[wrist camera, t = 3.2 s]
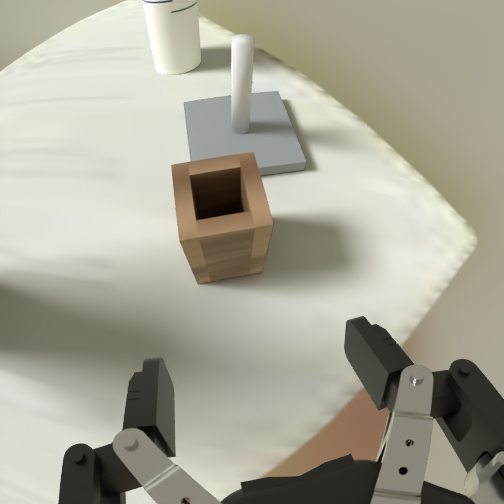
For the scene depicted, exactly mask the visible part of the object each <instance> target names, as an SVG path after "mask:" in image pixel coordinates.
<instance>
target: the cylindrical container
mask: <svg viewBox="0 0 504 504" xmlns="http://www.w3.org/2000/svg"><path fill="white" fill-rule="evenodd" d="M143 4H144V9H145V15H146V21H147V26H148V32H149V37H150V42H151V47H152V52H153V57H154V62H155V67H156V70H157V71H158V72H160V73H162V74H167V75H177V74H182V73H186V72H189V71H191V70H193V69H195V68H196V67H197V66H198V65H199V64H200V63H201V49H200V35H199V21H198V5H197V0H143Z"/></svg>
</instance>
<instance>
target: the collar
mask: <svg viewBox="0 0 504 504" xmlns="http://www.w3.org/2000/svg"><path fill="white" fill-rule="evenodd" d="M171 166H172V177H173V187H174V197H175V206H176V215H177V224H178V232H179V240H180V243H181V245H182V248H183V250H184V253H185V255H186V257H187V260H188V262H189V265H190V267H191V269H192V272H193V274H194V276H195V279H196V281H197V283H198V284H201V283H207V282H212V281H218V280H223V279H229V278H234V277H240V276H245V275H250V274H256V273H261V272H262V270H263V266H264V262H265V258H266V254H267V250H268V246H269V242H270V237H271V233H272V229H273V225H274V224H273V220H272V216H271V213H270V209H269V205H268V201H267V198H266V194H265V190H264V187H263V183H262V179H261V176H260V172H259V169H258V165H257V161H256V158H255V154H254V152H249V153H242V154H235V155H228V156H221V157H215V158H209V159H203V160H197V161H191V162H185V163H180V164H175V165H171Z"/></svg>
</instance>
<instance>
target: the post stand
mask: <svg viewBox="0 0 504 504" xmlns="http://www.w3.org/2000/svg"><path fill="white" fill-rule="evenodd" d="M254 41H255V39H254V38H253V37H252V36H250V35H243V34H242V35H236V36H234V37H232V40H231V96H223V97H215V98H208V99H201V100H195V101H189V102H184V110H185V118H186V127H187V135H188V143H189V151H190V159H191V161H197V160H203V159H209V158H215V157H221V156H228V155H235V154H242V153H249V152H254V154H255V158H256V161H257V165H258V169H259V172H260V176H262V175H269V174H277V173H284V172H292V171H301V170H304V169H305V165H306V159H305V157H304V154H303V151H302V149H301V146H300V144H299V141H298V138H297V136H296V133H295V131H294V128H293V126H292V123H291V121H290V119H289V116H288V114H287V111H286V109H285V106H284V104H283V102H282V99H281V97H280V95H279V92H278V91H273V92H260V93H251V90H252V74H253V58H254Z"/></svg>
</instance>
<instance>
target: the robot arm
mask: <svg viewBox="0 0 504 504" xmlns="http://www.w3.org/2000/svg"><path fill="white" fill-rule="evenodd" d="M344 349H345V354H346V357H347V359H348V361H349V362H350V364H351V366H352V367H353V369H354V371H355V372H356V374H357V375H358V377H359V379H360V380H361V382H362V384H363V385H364V387H365V389H366V390H367V392H368V394H369V395H370V396H371V399H372V400H373V402H374V403H375V405H376V407H377V409H378V410H381V409H383V408H386V407H387V408H388V410H389V411H390V412H389V415H388V419H387V423H386V427H385V431H384V435H383V439H382V442H381V446H380V449H379V452H378V456H377V458H376V461H371V460H353V458H352V455H351V454H349V455H347V456H344V457H341V458H338V459H335V460H331V461H328V462H325V463H324V464H321V465H320V466H318V467H316V468H314V469H312V470H311V471H309V472H307V473H305V474H303V475H301V476H295V477H266V478H261V479H256V480H251V481H245V482H241V487H242V489H240V490H237V491H235V492H233V493H232V494H230V495H229V496H227V497H226V498H224V499H223V500H222V501H221V502H220V501H218V500H217V499H216V498H215V497H214V496H212V495H211V494H210V493H209V492H208V491H206V490H205V489H204V488H203V487H202V486H201V485H199V484H198V483H197V482H196V481H195V480H194V479H193V478H192V477H190V476H189V475H188V474H187V473H186V472H185V471H184V470H183V469H182V468H181V467H179V466H178V465H175V464H174V463H173V462H172V461H171V460H170V459H169V458H168V457H176V454H175V414H174V388H173V384H172V381H171V378H170V376H169V374H168V371H167V369H166V366H165V364H164V361H163V359H162V358H161V357H160V358H153V359H145V360H144V362H143V370H142V372H137V373H134V375H133V376H132V378H131V380H130V381H129V386H128V393H127V401H126V407H125V414H124V423H123V430H122V431H121V432H120V433H118V434H117V435H116V437H115V438H114V440H113V443H111V444H108V445H106V446H102V447H99V448H96V449H92V448H91V447H90V446H88V445H86V444H75V445H73V446H71V447H70V448H69V449H68V450H67V451H66V452H65V455H64V459H63V466H62V474H61V483H60V492H59V504H126V496H125V492H126V491H129V490H133V489H136V488H139V487H142V486H143V487H144V489H145V490H146V492H147V493H148V494H149V495H150V496H151V497H152V498H153V499H154V500H155V502H156V503H157V504H504V399H503V398H502V396H501V395H500V394H499V393H498V391H497V390H496V389H495V388H494V386H493V385H492V384H491V383H490V381H489V380H488V379H487V378H486V377H485V375H484V374H483V373H482V372H481V371H480V369H479V368H478V367H477V366H476V365H475V364H474V363H473V362H471V361H469V360H466V359H459V360H456V361H454V362H453V363H452V364H451V366H450V368H449V370H444V371H437V372H431V371H430V370H429V369H428V368H426V367H424V366H421V365H414V363H413V362H412V361H411V360H410V358H409V357H408V356H407V355H406V354H405V352H404V351H403V350H402V349H401V347H400V346H399V345H398V344H396V341H395V340H394V339H393V338H392V337H391V335H390V334H389V333H388V332H387V331H386V329H384V328H382V327H381V326H379V325H377V324H374V325H371V324H370V323H369V322H368V320H367V319H366V318H365V317H364V316H361V317H358V318H354V319H350V320H347V322H346V331H345V344H344ZM434 418H435V419H436V420H437V422H438V424H439V425H440V427H441V428H442V430H443V432H444V433H445V435H446V437H447V438H448V440H449V442H450V444H451V445H452V447H453V449H454V450H455V452H456V454H457V456H458V457H459V459H460V461H461V462H462V464H463V466H464V468H465V469H466V471H467V475H466V477H465V487H466V488H465V491H466V493H467V496H465V495H462V494H460V493H456V492H454V491H450V490H448V489H445V488H442V487H439V486H437V485H434V484H431V483H429V482H426V481H423V480H424V475H425V470H426V465H427V460H428V454H429V447H430V441H431V434H432V426H433V419H434Z"/></svg>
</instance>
